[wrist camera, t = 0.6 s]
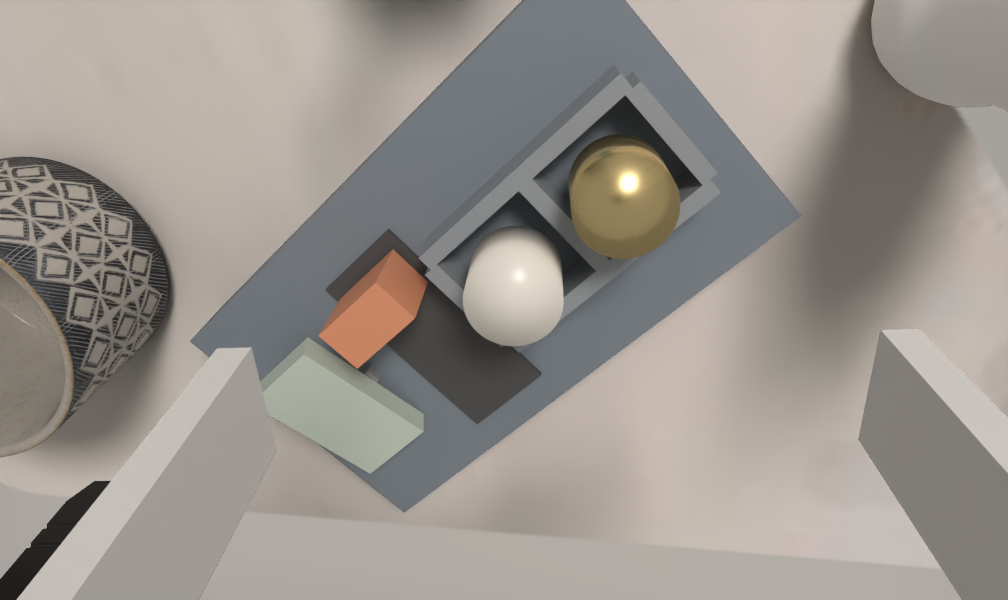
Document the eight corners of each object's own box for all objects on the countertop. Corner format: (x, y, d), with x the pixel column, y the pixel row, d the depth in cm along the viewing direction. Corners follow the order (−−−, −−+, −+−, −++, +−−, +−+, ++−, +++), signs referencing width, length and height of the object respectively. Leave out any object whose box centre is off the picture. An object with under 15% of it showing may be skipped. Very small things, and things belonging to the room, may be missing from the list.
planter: (-66, 139, 39) (-260, 198, 29) (164, 163, 39) (43, 229, 29) (-13, 341, 44) (-162, 444, 35) (188, 362, 44) (93, 472, 35)
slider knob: (340, 298, 37) (318, 335, 33) (392, 249, 35) (375, 282, 32) (375, 328, 37) (357, 368, 34) (428, 281, 36) (415, 318, 32)
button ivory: (451, 266, 33) (441, 299, 30) (518, 207, 31) (515, 235, 28) (514, 325, 34) (511, 363, 31) (580, 271, 33) (584, 305, 30)
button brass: (548, 180, 31) (548, 205, 28) (623, 113, 29) (633, 132, 26) (611, 246, 32) (618, 278, 29) (686, 185, 31) (702, 211, 28)
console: (220, 308, 42) (165, 368, 36) (576, -55, 33) (583, -57, 27) (415, 469, 47) (395, 546, 41) (776, 190, 38) (821, 236, 31)
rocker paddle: (255, 386, 38) (250, 404, 37) (307, 337, 36) (303, 354, 35) (371, 455, 41) (370, 473, 40) (423, 413, 40) (423, 431, 39)
